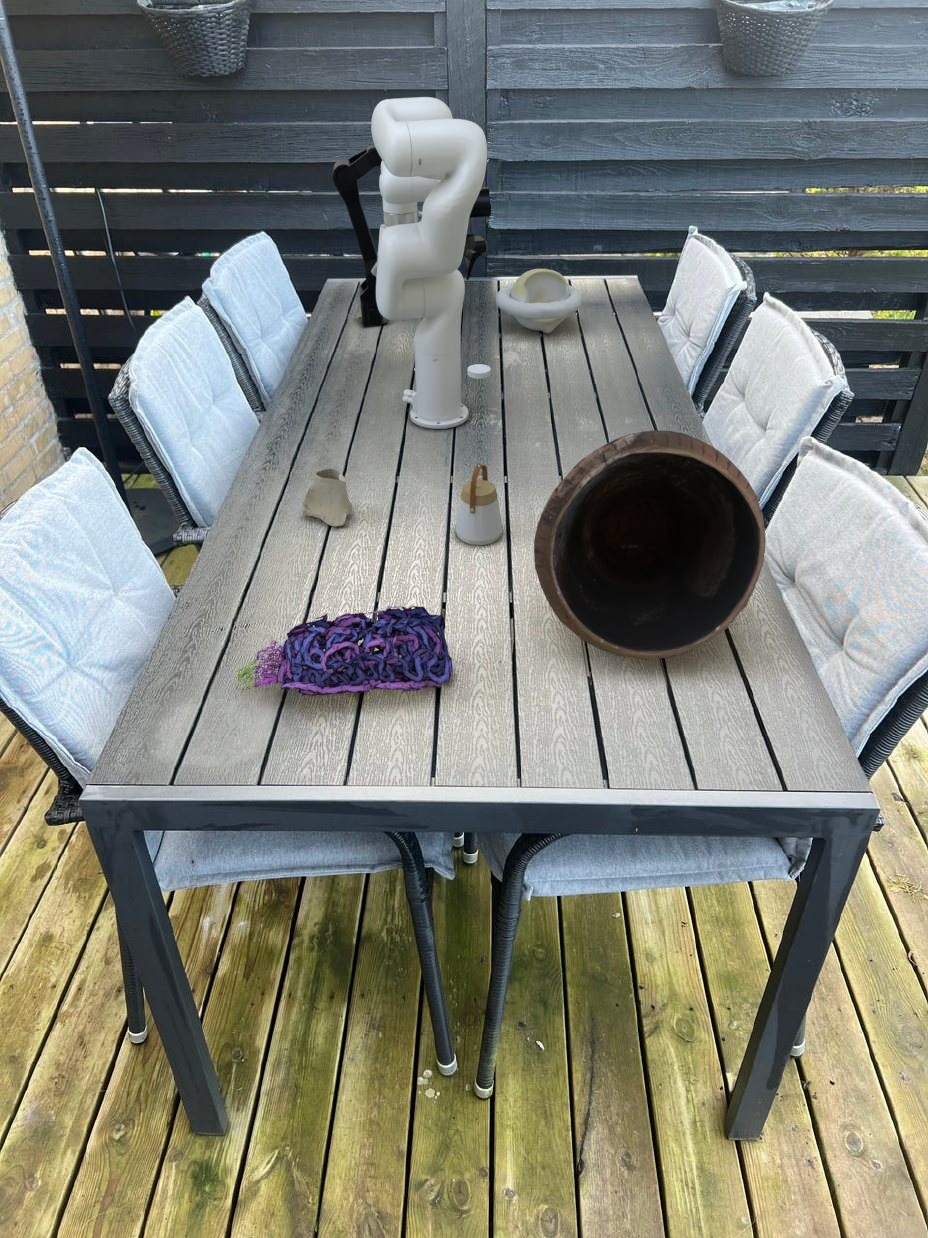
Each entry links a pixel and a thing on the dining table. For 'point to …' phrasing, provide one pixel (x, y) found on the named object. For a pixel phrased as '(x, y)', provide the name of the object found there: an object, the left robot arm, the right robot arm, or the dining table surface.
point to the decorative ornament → (358, 654)
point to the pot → (650, 545)
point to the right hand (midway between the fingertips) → (404, 300)
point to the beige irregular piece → (327, 498)
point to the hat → (539, 299)
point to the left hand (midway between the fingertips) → (450, 281)
